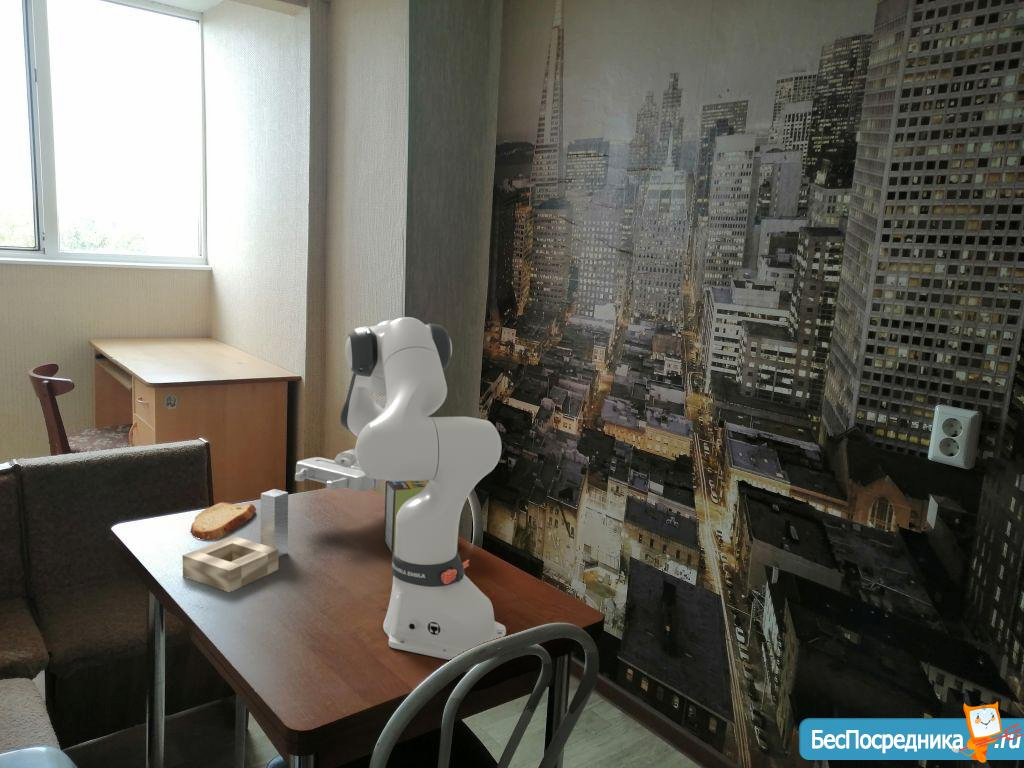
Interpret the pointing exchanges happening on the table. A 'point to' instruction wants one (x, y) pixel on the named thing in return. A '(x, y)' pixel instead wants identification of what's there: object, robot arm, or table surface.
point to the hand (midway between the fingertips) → (312, 481)
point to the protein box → (398, 505)
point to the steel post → (275, 520)
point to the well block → (230, 563)
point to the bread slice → (220, 520)
